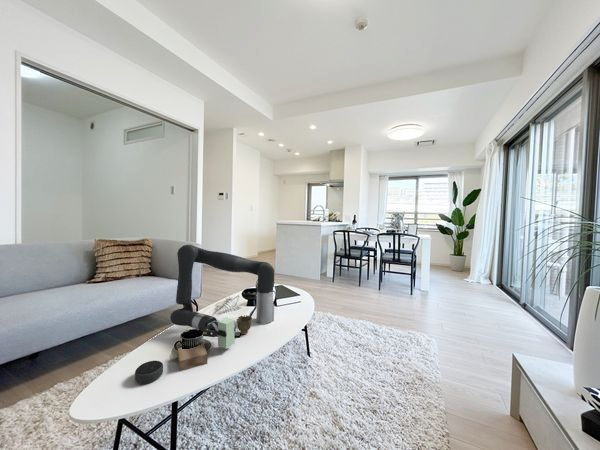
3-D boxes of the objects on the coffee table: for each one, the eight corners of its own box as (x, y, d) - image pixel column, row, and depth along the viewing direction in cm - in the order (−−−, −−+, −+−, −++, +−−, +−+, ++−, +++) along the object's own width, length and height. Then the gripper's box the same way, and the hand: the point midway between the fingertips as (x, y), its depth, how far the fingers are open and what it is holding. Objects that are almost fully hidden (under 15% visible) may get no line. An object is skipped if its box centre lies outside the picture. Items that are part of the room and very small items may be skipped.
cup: (247, 337, 119) (248, 322, 119) (234, 336, 121) (234, 320, 121) (253, 330, 127) (254, 315, 126) (240, 329, 128) (240, 314, 128)
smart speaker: (143, 389, 84) (143, 377, 83) (129, 379, 88) (129, 369, 88) (168, 374, 91) (168, 364, 91) (154, 366, 96) (154, 356, 96)
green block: (226, 340, 112) (226, 317, 112) (234, 343, 110) (234, 319, 110) (218, 345, 108) (217, 321, 108) (226, 348, 106) (226, 324, 105)
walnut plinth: (202, 351, 107) (203, 342, 107) (207, 363, 98) (207, 353, 98) (177, 357, 102) (177, 348, 102) (179, 371, 93) (180, 361, 93)
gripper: (191, 321, 109) (218, 330, 101) (216, 310, 122) (241, 317, 114) (191, 337, 109) (218, 347, 101) (216, 324, 122) (241, 333, 114)
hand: (230, 331), depth 108 cm, fingers closed on green block, 5 cm apart
